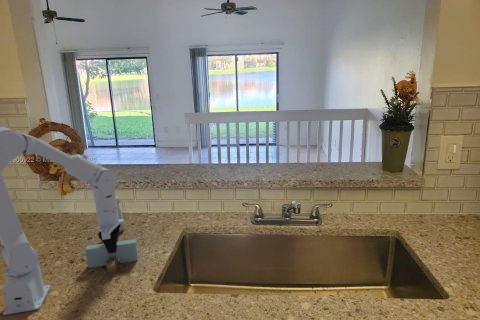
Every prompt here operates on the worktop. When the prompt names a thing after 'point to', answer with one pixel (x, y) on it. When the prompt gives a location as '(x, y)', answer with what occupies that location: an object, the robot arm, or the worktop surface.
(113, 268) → the walnut slotted board
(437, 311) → the worktop surface
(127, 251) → the slate-blue slotted board
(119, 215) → the salt shaker
